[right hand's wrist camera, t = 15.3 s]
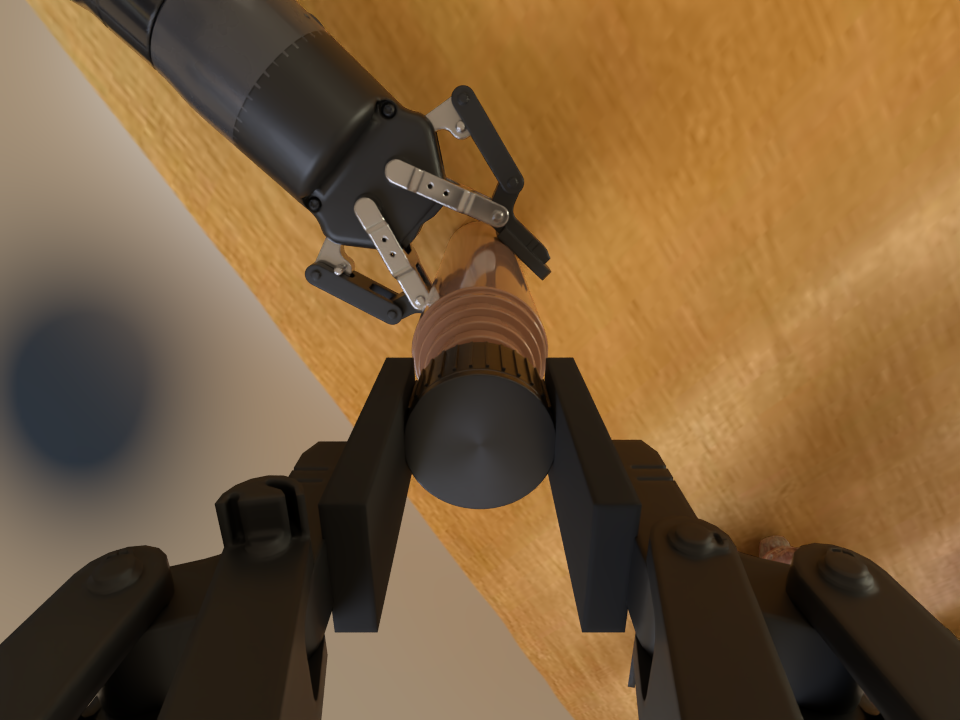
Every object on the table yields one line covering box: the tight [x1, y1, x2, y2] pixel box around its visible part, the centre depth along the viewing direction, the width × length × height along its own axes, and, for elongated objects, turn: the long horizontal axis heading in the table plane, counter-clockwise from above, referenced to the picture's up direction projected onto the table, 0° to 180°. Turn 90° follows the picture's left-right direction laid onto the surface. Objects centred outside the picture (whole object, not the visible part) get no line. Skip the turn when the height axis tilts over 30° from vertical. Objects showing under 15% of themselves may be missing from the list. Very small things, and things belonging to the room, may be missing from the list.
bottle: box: [412, 221, 548, 379], centre depth 25 cm, size 5×5×25 cm
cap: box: [404, 341, 556, 509], centre depth 14 cm, size 4×4×2 cm
